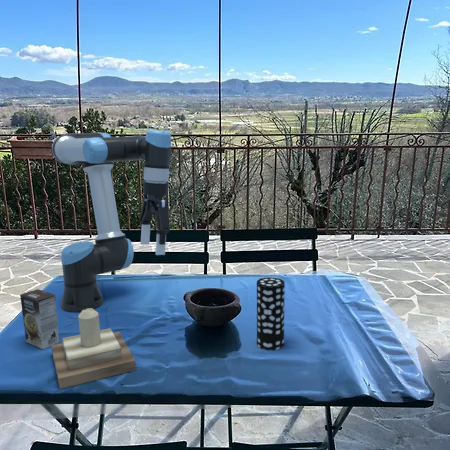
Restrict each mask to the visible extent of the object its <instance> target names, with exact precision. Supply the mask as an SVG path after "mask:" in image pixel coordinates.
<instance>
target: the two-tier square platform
mask: <svg viewBox="0 0 450 450" xmlns="http://www.w3.org/2000/svg"><path fill="white" fill-rule="evenodd" d="M100 336H101V342H100V343H99V344H98V345H96V346H93V347H84V346H82V345H81V340H80V334H76V335H72V336H71V335H70V336H67V337H62V343H61V342H60V343H56V344H54V345H52V346H51V355H52V359H53V364H54V368H55V372H56V379H57V382H58V387H59V390H62V389H65V388H69V387H74V386H78V385H82V384H87V383H89V382H94V381H97V380H102V379H106V378H110V377H113V376H118V375H121V374H126V373H130V372H135V371H136V370H137V369H136V368H137V367H136V366H137V365H136V359H135V357H134V356H133V354H132V351H131V350H130V348H129V347H128V345H127V343H126V341H125V340H124V338H123V336H122V334H121V332H120V331H115V332H113V330H112V328H106V329H105V328H104V329H100Z"/></svg>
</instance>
